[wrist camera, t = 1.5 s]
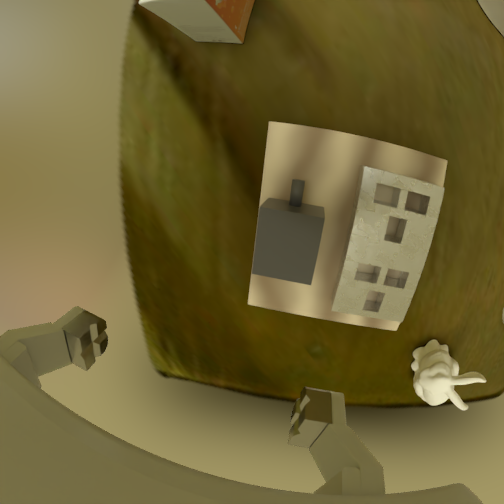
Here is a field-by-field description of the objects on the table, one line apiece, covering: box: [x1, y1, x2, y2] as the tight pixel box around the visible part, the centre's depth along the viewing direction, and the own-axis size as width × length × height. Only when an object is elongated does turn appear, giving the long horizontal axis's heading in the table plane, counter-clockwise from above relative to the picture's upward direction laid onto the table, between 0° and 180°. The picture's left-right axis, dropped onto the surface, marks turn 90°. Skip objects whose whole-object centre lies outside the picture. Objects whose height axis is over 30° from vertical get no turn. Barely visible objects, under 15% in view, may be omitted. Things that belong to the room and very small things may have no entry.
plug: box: [252, 179, 325, 285], centre depth 27 cm, size 6×9×6 cm, turn 174°
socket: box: [331, 165, 445, 322], centre depth 27 cm, size 9×16×2 cm, turn 174°
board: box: [248, 121, 447, 331], centre depth 30 cm, size 20×22×2 cm
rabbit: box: [411, 339, 486, 410], centre depth 29 cm, size 12×9×12 cm
